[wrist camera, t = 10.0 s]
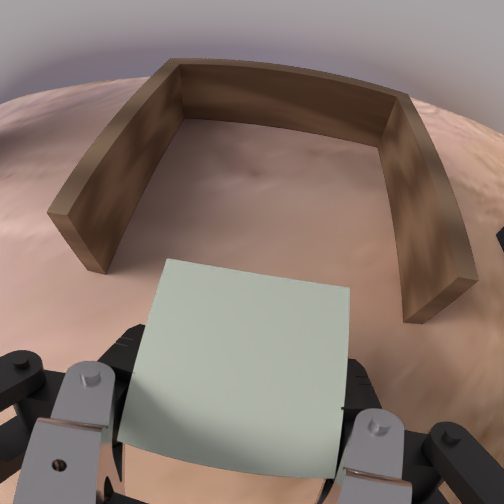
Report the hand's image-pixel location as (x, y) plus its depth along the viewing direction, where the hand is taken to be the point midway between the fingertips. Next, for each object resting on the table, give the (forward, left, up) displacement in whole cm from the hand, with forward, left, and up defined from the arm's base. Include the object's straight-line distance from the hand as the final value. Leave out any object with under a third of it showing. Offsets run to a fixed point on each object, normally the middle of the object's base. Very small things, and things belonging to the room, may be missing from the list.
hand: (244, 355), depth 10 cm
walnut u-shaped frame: (-8, +11, -6) cm, 15 cm away
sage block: (+1, -1, -5) cm, 5 cm away
